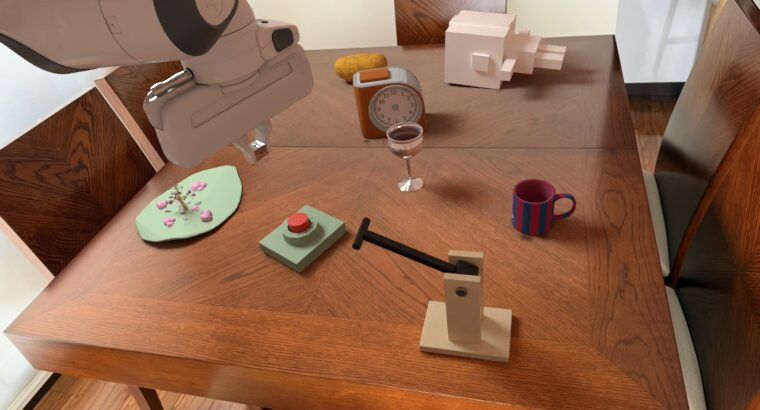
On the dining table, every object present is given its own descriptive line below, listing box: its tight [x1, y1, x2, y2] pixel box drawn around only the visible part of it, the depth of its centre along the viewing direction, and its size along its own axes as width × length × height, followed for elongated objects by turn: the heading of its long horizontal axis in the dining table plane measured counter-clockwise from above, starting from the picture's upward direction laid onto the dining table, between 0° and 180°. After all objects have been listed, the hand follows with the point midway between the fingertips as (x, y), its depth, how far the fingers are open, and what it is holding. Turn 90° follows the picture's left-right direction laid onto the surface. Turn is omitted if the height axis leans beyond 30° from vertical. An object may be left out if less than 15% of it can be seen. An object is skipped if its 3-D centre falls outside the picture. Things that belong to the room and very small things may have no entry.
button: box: [287, 212, 310, 233], centre depth 87 cm, size 4×4×2 cm
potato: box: [333, 52, 389, 83], centre depth 136 cm, size 7×14×7 cm, turn 83°
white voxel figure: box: [443, 9, 567, 90], centre depth 124 cm, size 15×25×28 cm
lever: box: [351, 216, 479, 276], centre depth 63 cm, size 16×5×2 cm, turn 76°
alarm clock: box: [352, 66, 428, 139], centre depth 112 cm, size 15×8×14 cm, turn 92°
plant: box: [134, 164, 243, 243], centre depth 101 cm, size 25×21×9 cm
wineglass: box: [386, 122, 425, 193], centre depth 95 cm, size 7×7×12 cm
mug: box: [511, 178, 577, 236], centre depth 83 cm, size 7×10×7 cm
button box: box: [258, 204, 347, 274], centre depth 89 cm, size 12×10×4 cm
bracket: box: [418, 249, 513, 364], centre depth 67 cm, size 12×8×14 cm, turn 76°
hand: (259, 157), depth 63 cm, fingers closed
